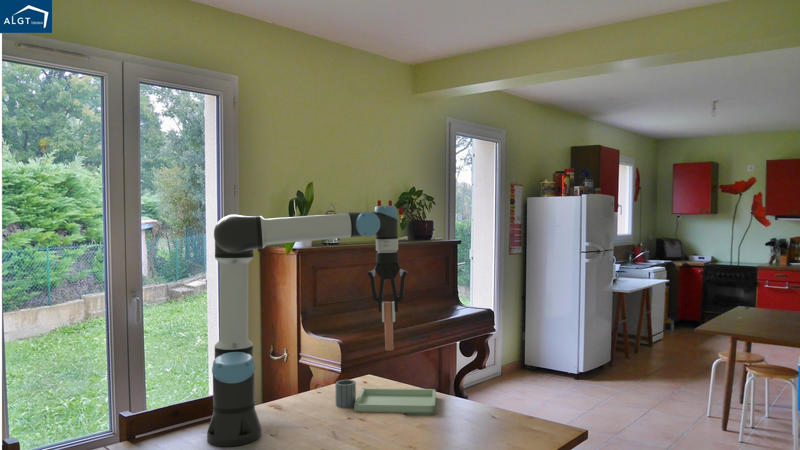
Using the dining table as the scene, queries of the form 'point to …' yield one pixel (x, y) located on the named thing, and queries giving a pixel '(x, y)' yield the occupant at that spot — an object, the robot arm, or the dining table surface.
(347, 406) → the cup
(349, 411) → the dining table surface
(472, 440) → the dining table surface
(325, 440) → the dining table surface
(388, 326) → the pin
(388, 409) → the tray
